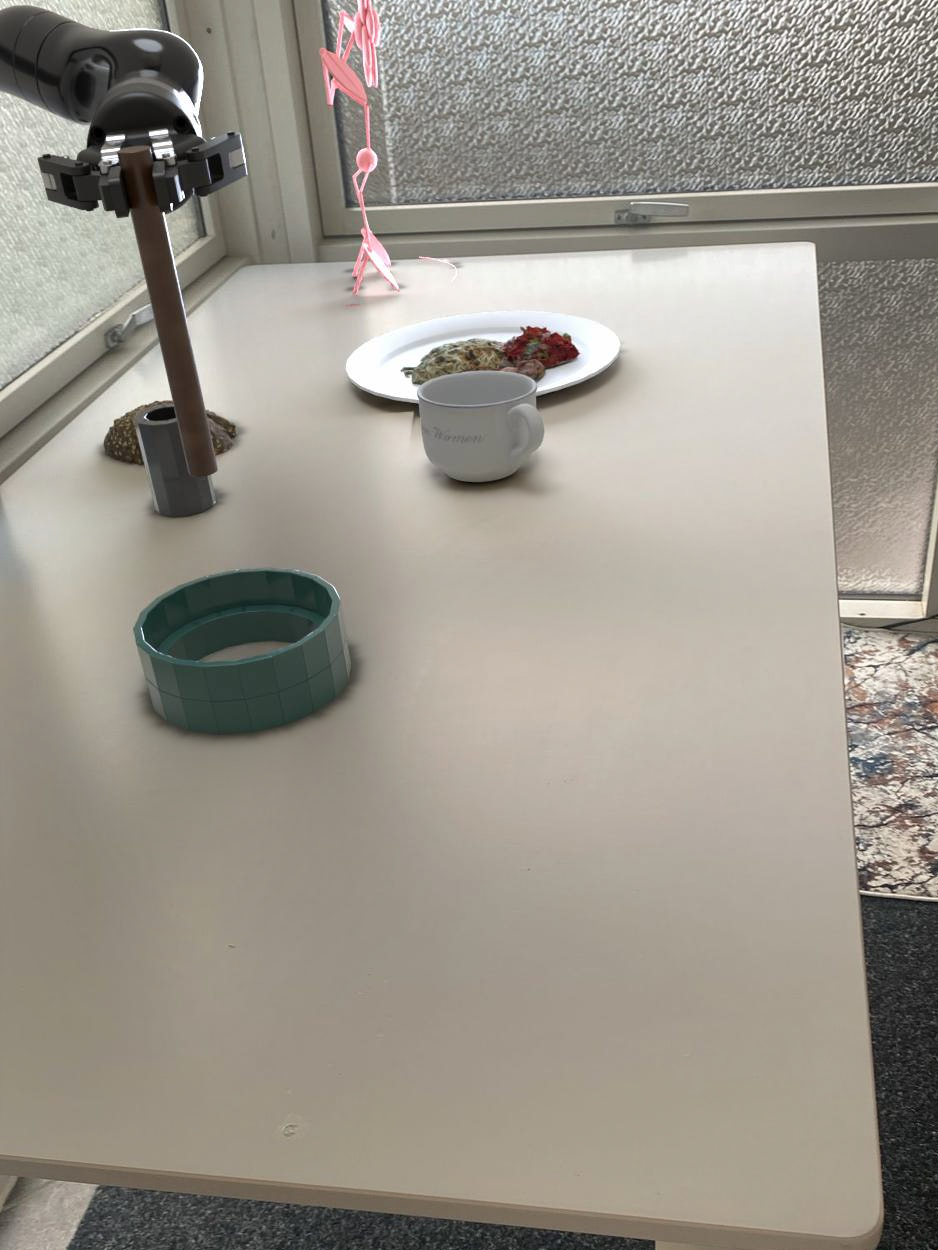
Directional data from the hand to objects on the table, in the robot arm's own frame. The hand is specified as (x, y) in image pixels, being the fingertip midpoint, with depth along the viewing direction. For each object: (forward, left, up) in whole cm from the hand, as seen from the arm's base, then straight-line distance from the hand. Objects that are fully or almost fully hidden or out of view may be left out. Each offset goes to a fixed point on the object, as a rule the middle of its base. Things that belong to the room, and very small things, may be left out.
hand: (139, 196), depth 78 cm
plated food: (+17, +63, -32) cm, 73 cm away
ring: (+1, -3, -32) cm, 32 cm away
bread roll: (-14, +46, -32) cm, 58 cm away
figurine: (+6, +102, -32) cm, 107 cm away
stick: (-1, +3, -18) cm, 18 cm away
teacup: (+18, +33, -32) cm, 50 cm away
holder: (-10, +30, -32) cm, 45 cm away
